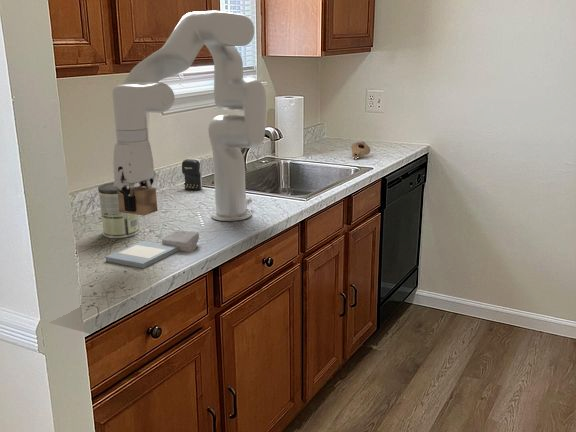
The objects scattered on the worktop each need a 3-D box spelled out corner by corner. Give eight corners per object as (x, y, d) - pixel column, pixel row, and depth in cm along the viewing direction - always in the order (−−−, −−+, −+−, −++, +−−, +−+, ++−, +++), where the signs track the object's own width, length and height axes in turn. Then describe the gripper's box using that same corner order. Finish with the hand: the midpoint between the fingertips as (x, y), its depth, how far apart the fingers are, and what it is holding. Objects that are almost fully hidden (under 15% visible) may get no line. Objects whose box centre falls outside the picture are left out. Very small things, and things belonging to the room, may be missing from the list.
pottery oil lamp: (344, 159, 279) (344, 144, 277) (356, 155, 289) (356, 140, 287) (361, 160, 274) (362, 145, 272) (372, 156, 284) (373, 141, 282)
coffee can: (108, 228, 179) (103, 182, 175) (142, 227, 179) (138, 181, 175) (98, 239, 169) (93, 190, 165) (135, 238, 169) (131, 189, 166)
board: (142, 244, 163) (142, 240, 163) (178, 250, 158) (178, 246, 158) (106, 261, 151) (105, 256, 151) (143, 268, 146) (142, 263, 146)
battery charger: (181, 190, 225) (179, 159, 222) (187, 187, 228) (185, 158, 225) (198, 191, 222) (196, 161, 219) (203, 189, 226) (201, 159, 222)
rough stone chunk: (166, 259, 163) (156, 241, 161) (179, 246, 167) (169, 229, 165) (192, 254, 157) (182, 236, 155) (205, 241, 162) (195, 223, 160)
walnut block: (132, 207, 155) (130, 184, 154) (157, 210, 152) (155, 187, 150) (119, 212, 151) (117, 188, 149) (144, 215, 147) (142, 191, 146)
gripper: (143, 131, 155) (148, 199, 160) (95, 140, 141) (102, 215, 146) (166, 132, 152) (171, 202, 157) (119, 142, 137) (126, 218, 142)
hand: (138, 207), depth 151 cm, fingers closed on walnut block, 5 cm apart
